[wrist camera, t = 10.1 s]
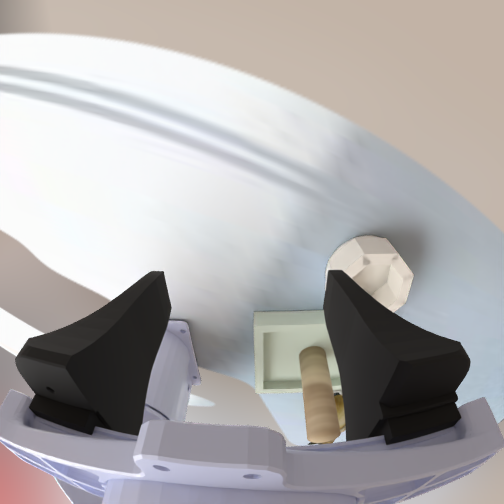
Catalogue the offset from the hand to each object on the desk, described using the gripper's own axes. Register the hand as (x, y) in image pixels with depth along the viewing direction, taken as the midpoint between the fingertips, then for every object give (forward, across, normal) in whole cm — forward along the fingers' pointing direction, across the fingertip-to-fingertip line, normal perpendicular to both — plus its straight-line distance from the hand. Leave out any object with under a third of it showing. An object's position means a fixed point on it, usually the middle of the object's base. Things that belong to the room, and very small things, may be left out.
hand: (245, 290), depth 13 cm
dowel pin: (+9, -6, +14) cm, 17 cm away
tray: (+9, -6, +14) cm, 18 cm away
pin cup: (+9, -9, +5) cm, 14 cm away
